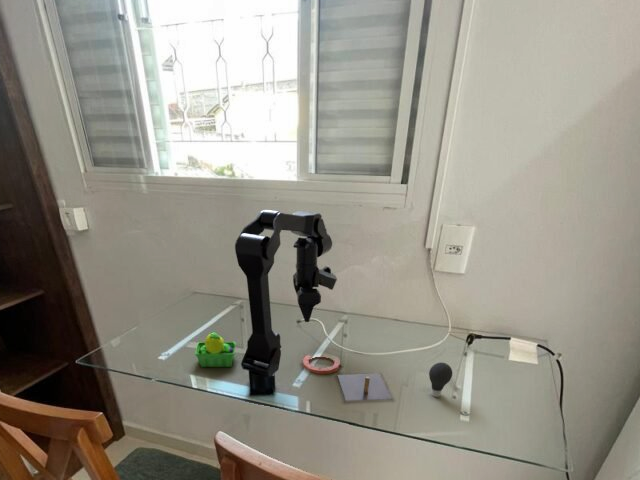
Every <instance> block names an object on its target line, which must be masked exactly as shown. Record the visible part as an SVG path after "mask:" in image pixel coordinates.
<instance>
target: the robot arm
mask: <svg viewBox="0 0 640 480" xmlns="http://www.w3.org/2000/svg"><path fill="white" fill-rule="evenodd" d="M265 230H267V231H273V233H272V234H271V236H267V235H260V234H262V233H263V232H264V231H265ZM282 231H290V233H292V234H294V235H296V236H300V237H298V238H297V240H296V241H295V242H294V243H293V246H292V247H293V248H294V249H296V262H295V269H296V271H295V273H293V275H292V283H293V284H292V285H293V288H294V291H295V293H296V299H297V300H296V301H297V305H298V307H299V309H300V312H301V315H302V317H303V320H304V322H305V323H309V322H310V320H311V316H312V313H313V311H314V308H315V306H317V305H319V304H321V303H322V295H321V292H320V290H319V289H318V288H319V287H320V286H321V287H324V288H327V289H328V290H331V291H333V290H334V287H335V286H336V283H337V280H338V277H337V275H335V274H334V273H333V272H332V270H331V267H330V266H326V265H325V266H324V267H323V268H320V269H319V267H318V258H320V257H321V256H324V255H325V254H327V253H328V252H330V250H331V249H332V247H333V240H332V238H331V236H330V234H328V232H327V231H328V229H327V227H326V225H325V222H324V219H323V216H322V214H321V213H319V212H311V211H301V210H298V211H294V212H292V214H291V213H286V212H281V211H279V210H270V209H264V210H261V211H260V212H259V213H258V215H257V217H256V218H255V219H253V220H252V221H251V222H250V223H248V224H247V225H245V226H244V227H243V229H242V230H241V232H240V234H239V235H238V237H237V239H236V240H235V243H234V250H235V257H236V260H237V264H238V267H239V268H240V269H241V271H242V272H243V274H244V275H245V277H246V284H247V292H248V303H249V312H250V313H249V314H250V322H251V333H250V336H249V338H248V340H247V347H246V350H245V352H244V355H243V358H242V360H241V362H240V366H241V368H242V370H245V371H248V382H249V387H248V388H249V389H248V391H249V396H250V397H254V396H257V397H258V396H274V394H275V390H276V372H278V371H279V367H280V363H281V362H280V361H281V357H282V350H281V348H282V344H281V335H280V333H277V332H274V330H273V326H272V325H273V324H272V312H271V311H272V310H271V298H270V297H271V296H270V283H269V273H270V271H271V269H272V268H273V266H274V264H275V255H276V253H277V252H278V250H279V249H280V246H281V232H282Z"/></svg>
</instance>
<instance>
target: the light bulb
mask: <svg viewBox="0 0 640 480" xmlns="http://www.w3.org/2000/svg"><path fill="white" fill-rule="evenodd" d="M428 377H429V381H430V383H431V384H430V385H431V390H430V395H431V396H432V397H434V398H439V397H440V396H441V394H442V391H443V389H444V387H445V386H446V385H447V384H448V383H449V382H450V381H451V380H452V378H453V369H452V367H451V366H450V365H449V364H448V363H446V362H437V363H435V364H433V365H432V366H431V368H429V372H428Z"/></svg>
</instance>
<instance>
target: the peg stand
mask: <svg viewBox="0 0 640 480" xmlns="http://www.w3.org/2000/svg"><path fill="white" fill-rule="evenodd" d="M337 377H338V381H339V384H340V387H341V391H342V393H343V396H344V400H345V401H346V402H349V401H350V402H353V401H377V400H378V401H379V400H393V397H392V395H391V393H390V391H389V389H388V386H387V384H386V382H385V381H384V378H383V377H382V374H381V373H357V374H356V373H355V374H337Z"/></svg>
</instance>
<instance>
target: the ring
mask: <svg viewBox="0 0 640 480" xmlns="http://www.w3.org/2000/svg"><path fill="white" fill-rule="evenodd" d="M309 355H310V354H308V355H306V356H305V357H304V358H303V359H302V366H303V368H304V369H305V370H307V371H308V372H310V373H313V374H317V375H327V374H328V375H329V374H332V373H334V372H337V371H338V370H339V368H341V361H340V359H339V360H338V359H337V360H338V361H337V360H336V359H334V361H333V360H331V359H330V358H326V357H315V358H312V359H310V358H311V356H309ZM316 359H325V360H329V361H331V362H332V363H333V364H332V365H331V366H328V367H317V366H314V365H312V364H311V363H310V362H311V361H313V360H316ZM309 360H310V361H309ZM334 362H335V363H334ZM339 365H340V366H339Z"/></svg>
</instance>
